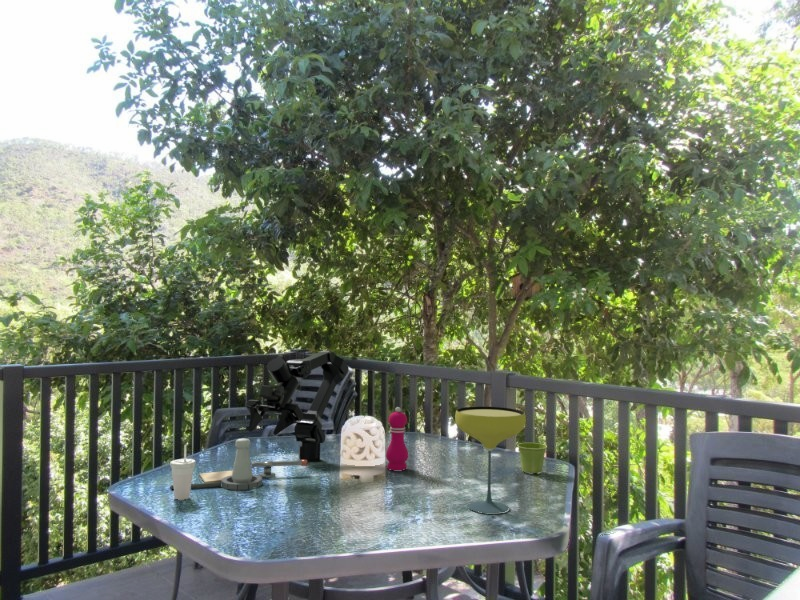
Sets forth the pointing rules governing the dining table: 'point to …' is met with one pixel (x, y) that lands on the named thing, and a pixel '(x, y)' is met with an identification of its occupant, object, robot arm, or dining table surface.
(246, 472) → the salt shaker
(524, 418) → the cocktail glass
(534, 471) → the plant pot
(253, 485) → the grey ring with rod
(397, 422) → the pepper mill
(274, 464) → the clip
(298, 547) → the dining table surface
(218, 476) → the coaster
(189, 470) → the smoothie
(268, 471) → the clip post
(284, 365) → the robot arm
